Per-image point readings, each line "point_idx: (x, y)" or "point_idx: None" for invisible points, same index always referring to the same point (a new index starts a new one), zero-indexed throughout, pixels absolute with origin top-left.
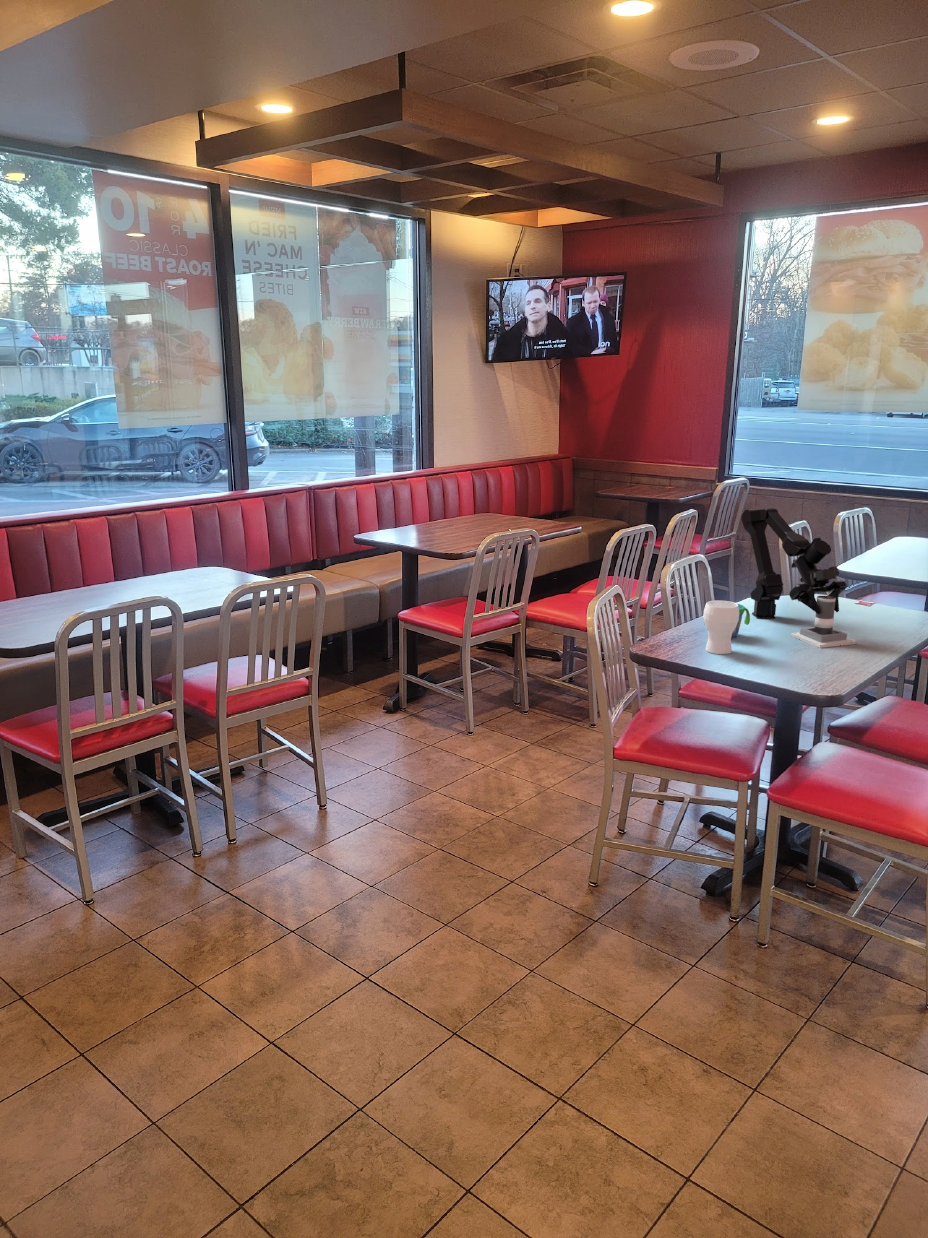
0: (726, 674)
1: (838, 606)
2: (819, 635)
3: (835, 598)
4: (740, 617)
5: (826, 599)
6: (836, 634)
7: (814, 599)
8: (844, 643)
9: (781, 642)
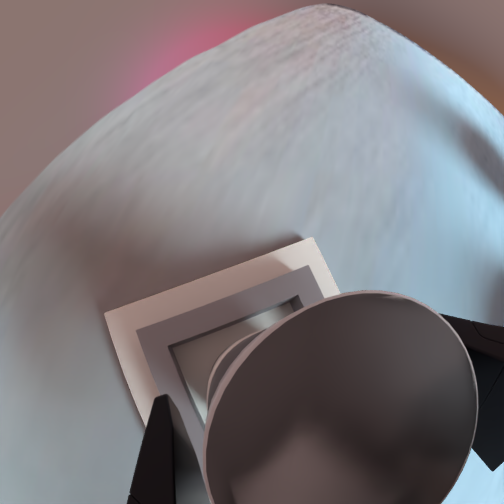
0: (481, 96)
1: (150, 429)
2: (314, 284)
3: (223, 384)
4: None
5: (401, 295)
6: (206, 311)
7: (496, 345)
8: (171, 290)
9: None
